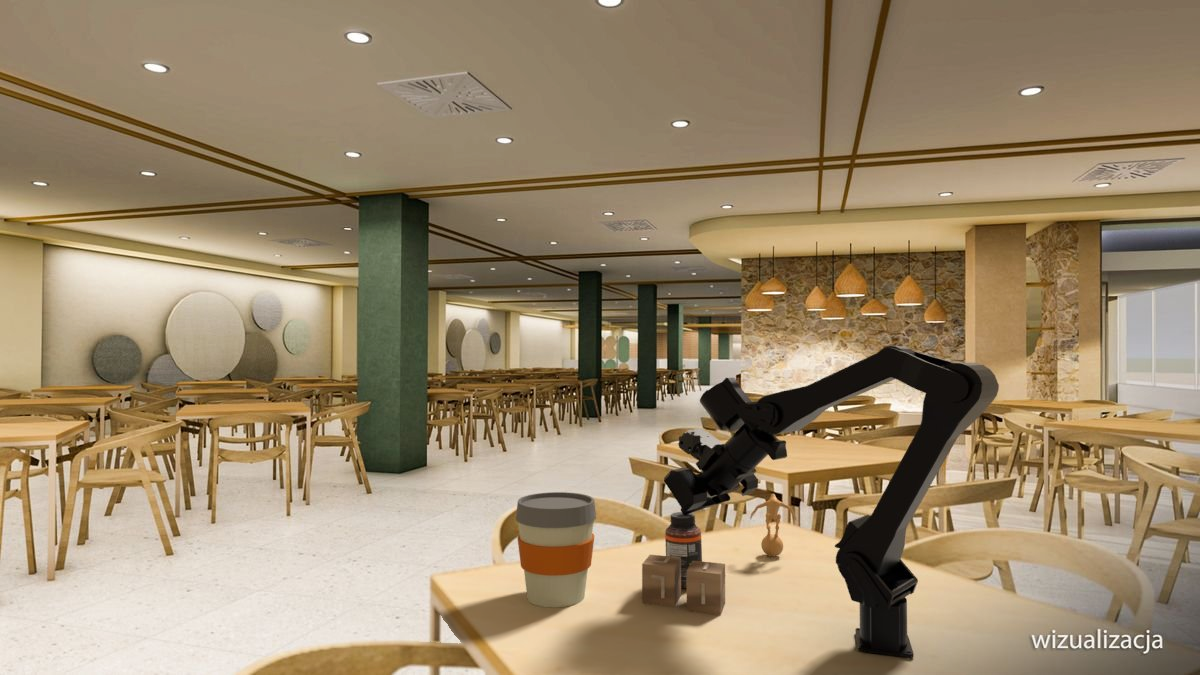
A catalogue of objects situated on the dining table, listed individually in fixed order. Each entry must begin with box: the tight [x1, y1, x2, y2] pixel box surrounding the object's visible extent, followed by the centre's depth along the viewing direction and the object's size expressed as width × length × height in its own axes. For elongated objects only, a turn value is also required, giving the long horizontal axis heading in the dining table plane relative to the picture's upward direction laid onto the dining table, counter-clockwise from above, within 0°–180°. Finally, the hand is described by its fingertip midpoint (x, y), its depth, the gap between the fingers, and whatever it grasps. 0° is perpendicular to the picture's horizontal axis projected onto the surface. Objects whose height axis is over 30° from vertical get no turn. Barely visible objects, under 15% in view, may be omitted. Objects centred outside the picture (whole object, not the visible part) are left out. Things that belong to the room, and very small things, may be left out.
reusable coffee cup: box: [515, 491, 597, 608], centre depth 104 cm, size 13×13×15 cm
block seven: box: [641, 554, 682, 608], centre depth 103 cm, size 5×5×6 cm
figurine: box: [749, 493, 797, 557], centre depth 124 cm, size 8×6×12 cm
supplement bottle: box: [664, 511, 703, 589], centre depth 110 cm, size 6×6×11 cm
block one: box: [686, 560, 726, 616], centre depth 100 cm, size 5×5×6 cm
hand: (683, 512), depth 110 cm, fingers closed, pressing on supplement bottle
